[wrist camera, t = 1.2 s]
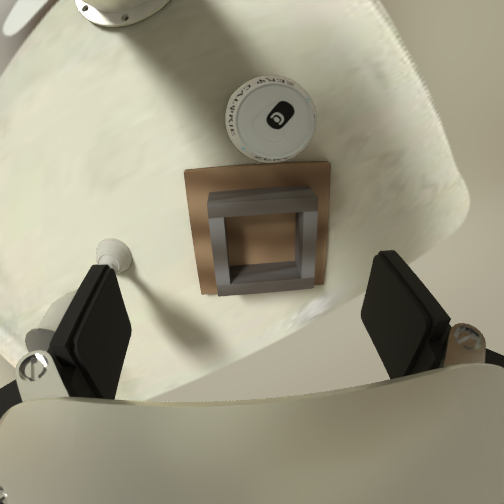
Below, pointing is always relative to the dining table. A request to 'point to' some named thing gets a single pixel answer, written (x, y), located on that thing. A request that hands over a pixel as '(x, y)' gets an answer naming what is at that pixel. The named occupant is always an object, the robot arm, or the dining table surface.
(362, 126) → the dining table surface
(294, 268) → the socket block
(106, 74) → the dining table surface
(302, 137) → the energy drink can
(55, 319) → the chalice
